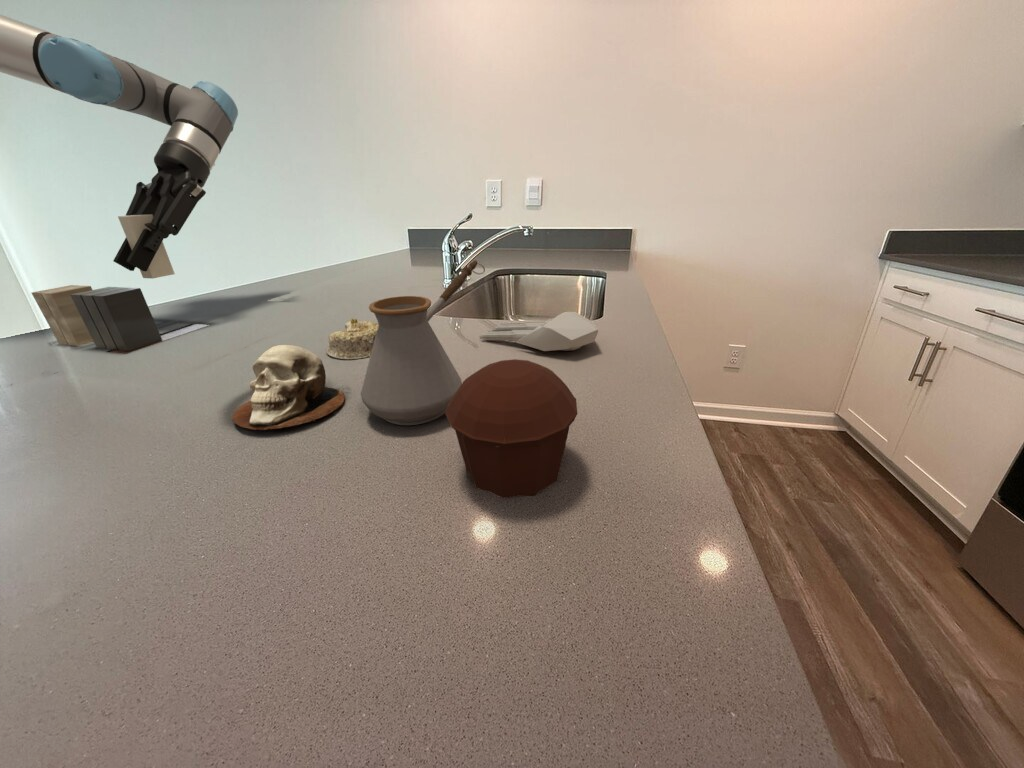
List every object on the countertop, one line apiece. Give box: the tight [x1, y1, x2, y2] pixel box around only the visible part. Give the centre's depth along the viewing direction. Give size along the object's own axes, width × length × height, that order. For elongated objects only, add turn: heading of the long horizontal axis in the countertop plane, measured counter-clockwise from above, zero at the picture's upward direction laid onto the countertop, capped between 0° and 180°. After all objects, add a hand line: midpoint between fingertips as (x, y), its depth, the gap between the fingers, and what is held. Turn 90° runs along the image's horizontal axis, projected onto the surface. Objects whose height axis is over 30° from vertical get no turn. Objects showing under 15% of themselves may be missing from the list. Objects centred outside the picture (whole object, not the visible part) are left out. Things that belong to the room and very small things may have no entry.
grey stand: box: [71, 286, 211, 355], centre depth 70 cm, size 8×15×10 cm, turn 166°
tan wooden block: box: [31, 284, 94, 347], centre depth 73 cm, size 8×15×10 cm, turn 165°
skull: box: [231, 344, 346, 431], centre depth 49 cm, size 12×10×10 cm
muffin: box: [444, 358, 578, 499], centre depth 36 cm, size 12×11×10 cm
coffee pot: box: [360, 259, 486, 426], centre depth 49 cm, size 21×12×15 cm, turn 152°
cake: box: [325, 318, 379, 360], centre depth 66 cm, size 10×10×5 cm
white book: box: [117, 215, 176, 279], centre depth 70 cm, size 2×4×10 cm, turn 166°
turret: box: [478, 311, 599, 352], centre depth 67 cm, size 10×20×5 cm, turn 61°
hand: (130, 266), depth 68 cm, fingers closed on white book, 2 cm apart
